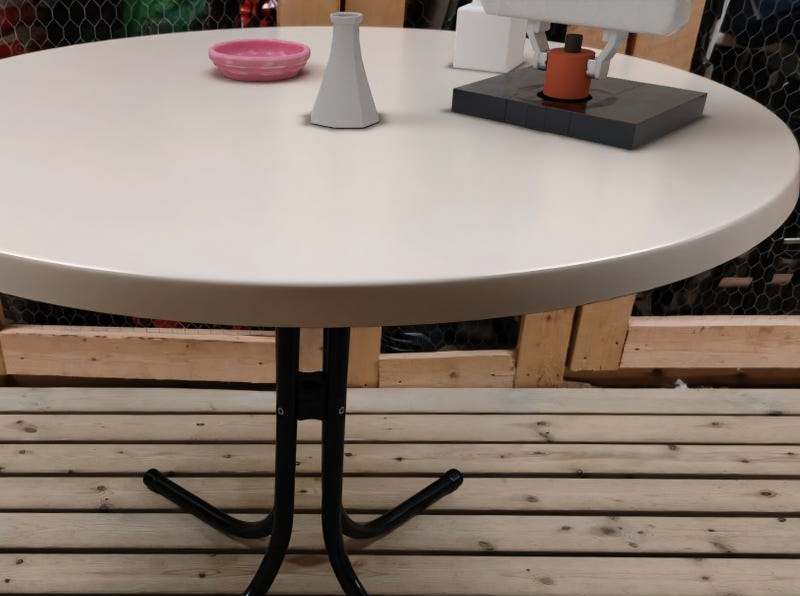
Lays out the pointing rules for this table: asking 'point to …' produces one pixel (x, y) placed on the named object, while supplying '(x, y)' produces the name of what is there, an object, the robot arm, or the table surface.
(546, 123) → the drain plate
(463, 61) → the medicine bottle
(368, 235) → the table surface
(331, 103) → the flask
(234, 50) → the pink shallow round dish
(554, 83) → the stopper
